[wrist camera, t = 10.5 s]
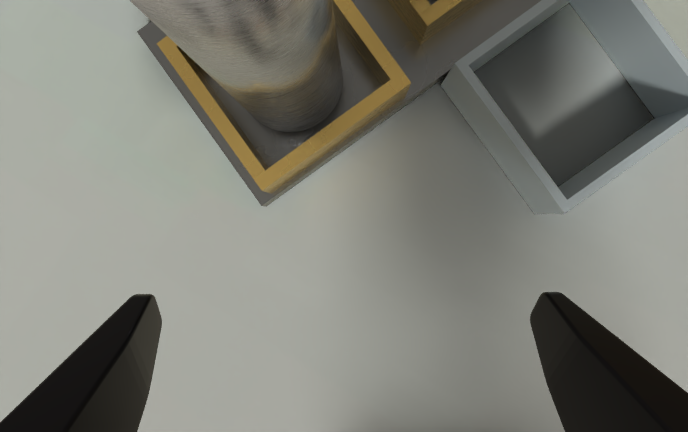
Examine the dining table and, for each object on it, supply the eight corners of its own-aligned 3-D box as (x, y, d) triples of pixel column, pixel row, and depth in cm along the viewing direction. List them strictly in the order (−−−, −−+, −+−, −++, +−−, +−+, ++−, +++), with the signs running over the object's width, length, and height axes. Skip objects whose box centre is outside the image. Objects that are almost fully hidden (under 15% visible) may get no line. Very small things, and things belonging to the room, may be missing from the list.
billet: (305, 152, 20) (195, 24, 7) (219, 95, 20) (-46, -133, 7) (363, 64, 20) (363, -235, 7) (276, 8, 20) (114, -387, 7)
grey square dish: (534, 214, 21) (564, 213, 18) (440, 85, 21) (454, 63, 18) (666, 120, 20) (720, 103, 17) (571, -10, 21) (607, -48, 18)
